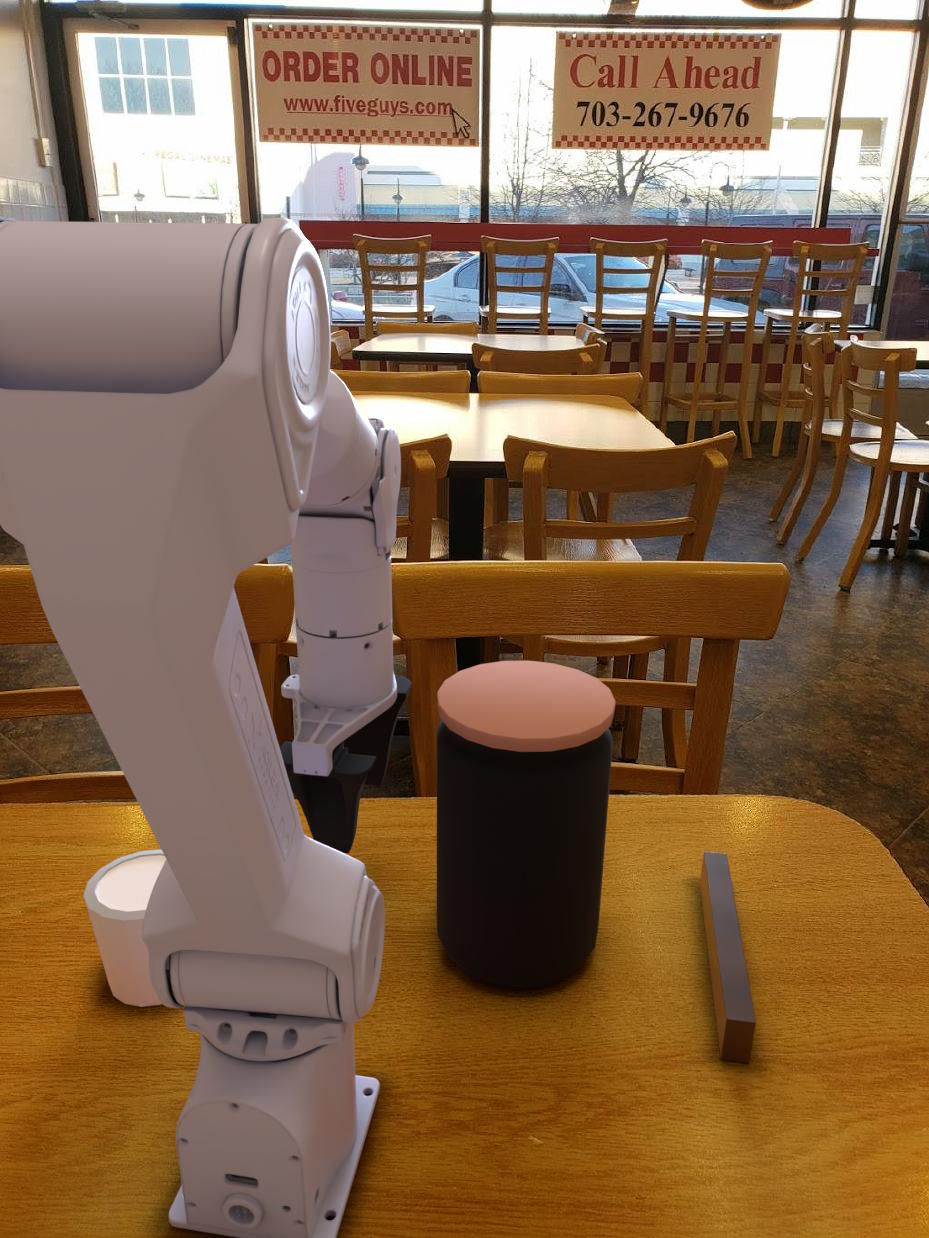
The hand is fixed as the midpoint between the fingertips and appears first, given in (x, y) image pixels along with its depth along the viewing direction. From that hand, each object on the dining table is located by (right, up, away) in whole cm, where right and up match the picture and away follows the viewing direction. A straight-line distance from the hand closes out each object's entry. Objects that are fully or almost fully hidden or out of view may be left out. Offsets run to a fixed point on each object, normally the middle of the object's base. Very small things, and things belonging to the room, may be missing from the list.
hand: (352, 813), depth 61 cm
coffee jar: (+11, -9, +1) cm, 14 cm away
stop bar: (+24, -10, 0) cm, 26 cm away
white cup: (-12, -10, -2) cm, 16 cm away
